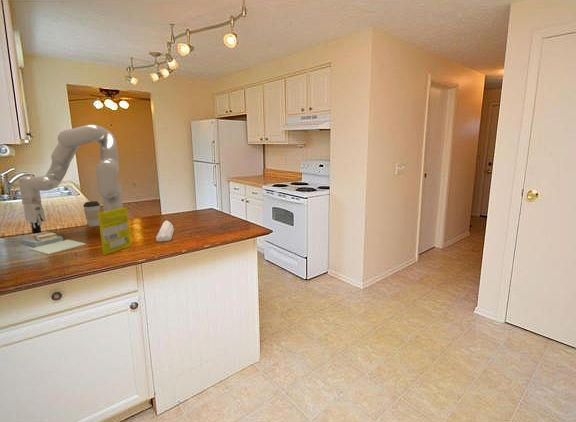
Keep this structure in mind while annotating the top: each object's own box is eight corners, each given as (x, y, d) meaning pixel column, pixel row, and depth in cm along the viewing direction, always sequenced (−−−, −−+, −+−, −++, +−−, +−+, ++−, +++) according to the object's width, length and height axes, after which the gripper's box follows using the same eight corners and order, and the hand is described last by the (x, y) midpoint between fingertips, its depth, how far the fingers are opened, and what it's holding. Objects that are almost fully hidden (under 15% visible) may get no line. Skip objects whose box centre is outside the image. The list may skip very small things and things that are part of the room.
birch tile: (57, 238, 159) (56, 233, 158) (41, 241, 153) (40, 237, 152) (46, 235, 163) (45, 231, 163) (31, 239, 157) (30, 234, 156)
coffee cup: (85, 227, 190) (82, 203, 187) (85, 224, 198) (82, 201, 195) (102, 225, 195) (99, 202, 192) (102, 222, 203) (99, 199, 199)
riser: (63, 241, 162) (62, 236, 161) (36, 247, 151) (35, 243, 151) (48, 237, 168) (48, 233, 167) (22, 243, 158) (21, 239, 157)
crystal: (174, 234, 161) (177, 223, 184) (160, 228, 159) (165, 218, 181) (167, 247, 162) (171, 234, 184) (154, 241, 159) (159, 229, 182)
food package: (130, 245, 155) (126, 206, 151) (131, 245, 155) (127, 207, 151) (102, 255, 141) (97, 213, 137) (104, 255, 141) (98, 213, 137)
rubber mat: (86, 244, 157) (86, 243, 157) (48, 254, 142) (48, 253, 142) (68, 240, 164) (68, 239, 164) (30, 249, 149) (30, 248, 149)
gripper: (47, 200, 157) (53, 235, 161) (32, 198, 164) (38, 231, 167) (30, 202, 150) (36, 238, 154) (15, 200, 157) (21, 234, 161)
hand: (37, 234), depth 161 cm, fingers closed
